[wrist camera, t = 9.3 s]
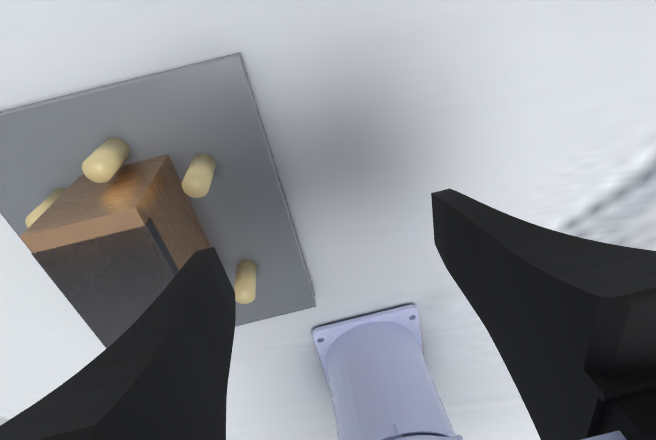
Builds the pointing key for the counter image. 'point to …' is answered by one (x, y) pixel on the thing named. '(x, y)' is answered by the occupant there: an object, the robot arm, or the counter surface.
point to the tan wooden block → (117, 242)
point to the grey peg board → (188, 160)
